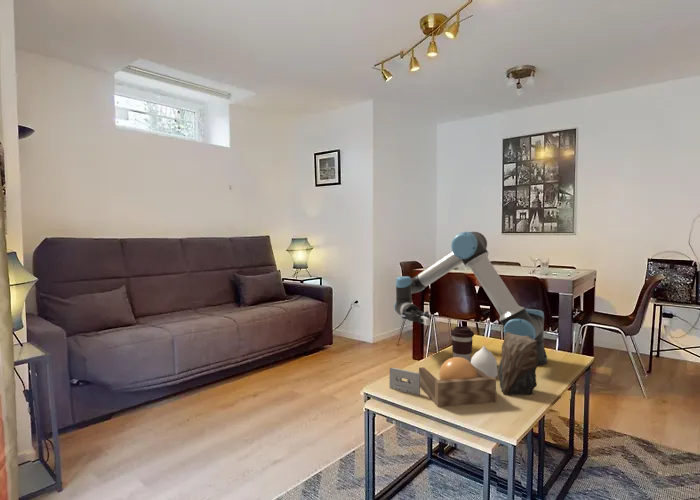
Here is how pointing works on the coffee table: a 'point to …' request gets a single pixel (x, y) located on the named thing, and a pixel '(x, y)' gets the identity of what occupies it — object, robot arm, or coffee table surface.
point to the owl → (518, 365)
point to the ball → (457, 369)
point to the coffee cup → (462, 342)
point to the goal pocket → (458, 389)
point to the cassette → (407, 385)
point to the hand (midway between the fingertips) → (427, 322)
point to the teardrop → (485, 362)
